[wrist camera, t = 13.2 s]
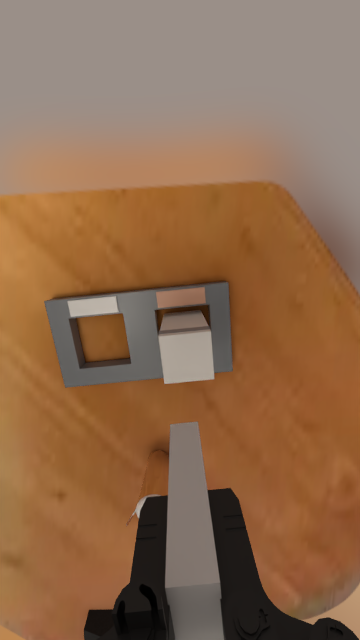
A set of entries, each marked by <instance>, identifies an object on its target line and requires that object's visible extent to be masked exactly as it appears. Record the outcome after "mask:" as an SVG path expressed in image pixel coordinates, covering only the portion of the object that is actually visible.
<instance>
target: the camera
mask: <svg viewBox="0 0 360 640" xmlns="http://www.w3.org/2000/svg"><path fill="white" fill-rule="evenodd" d="M112 611H113V610H89V613H88V617H87V620H86V624H85V628H84V639H85V640H96V639H98V638H99V637H101V636H102V635H104V634H105V633H106V632H108V631H109V630H110V629H111V628H112V627H113V626H114V622H113V618H112Z"/></svg>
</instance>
